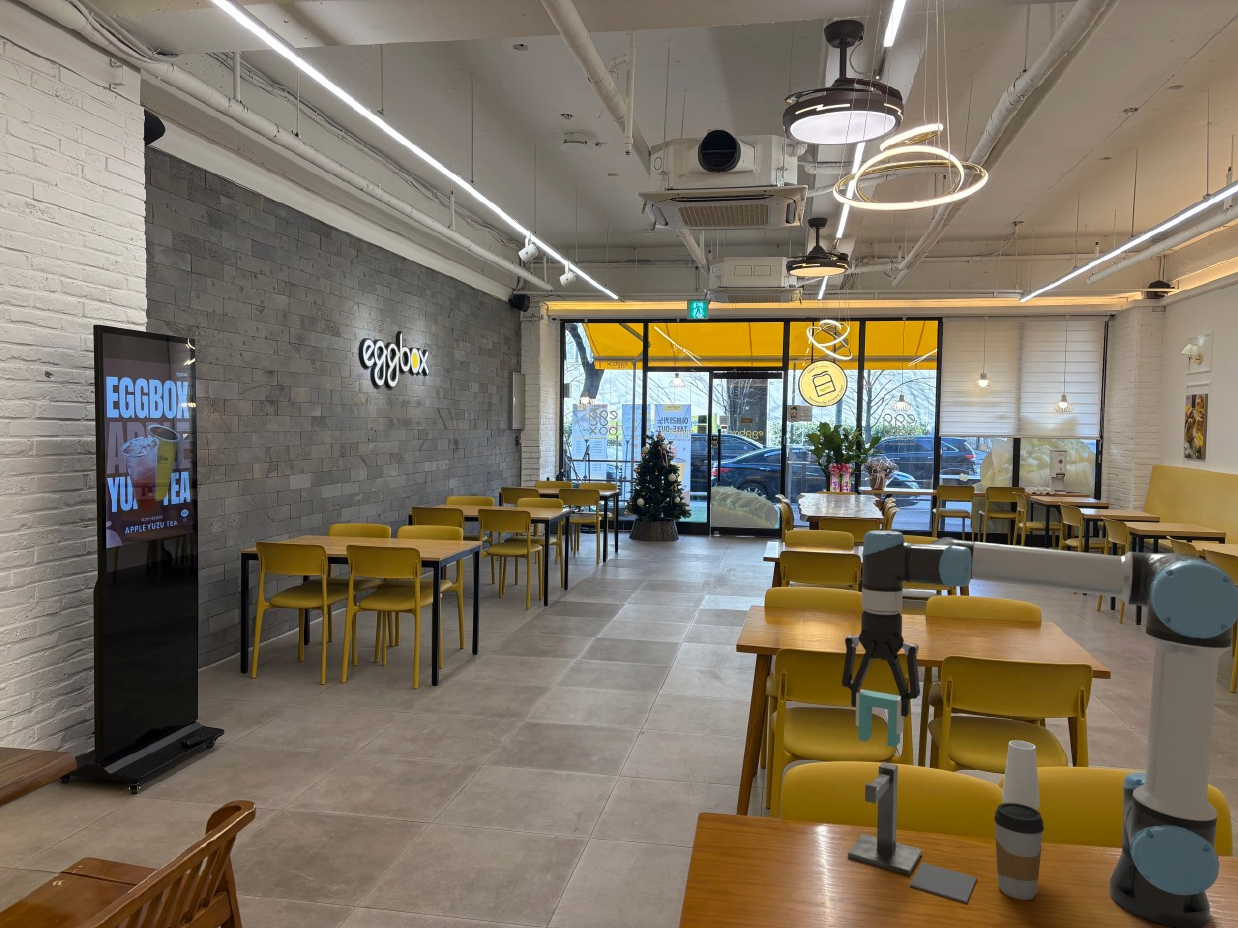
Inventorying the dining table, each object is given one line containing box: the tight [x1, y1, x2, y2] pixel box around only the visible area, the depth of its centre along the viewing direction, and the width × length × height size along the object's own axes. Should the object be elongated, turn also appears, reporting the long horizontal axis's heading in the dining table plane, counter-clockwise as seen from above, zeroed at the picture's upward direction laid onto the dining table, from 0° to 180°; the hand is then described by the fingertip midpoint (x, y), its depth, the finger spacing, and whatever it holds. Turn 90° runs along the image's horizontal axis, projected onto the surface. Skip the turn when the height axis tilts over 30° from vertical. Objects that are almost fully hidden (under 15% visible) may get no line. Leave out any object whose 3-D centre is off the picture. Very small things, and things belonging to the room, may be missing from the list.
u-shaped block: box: [858, 689, 901, 748], centre depth 157 cm, size 7×4×9 cm, turn 57°
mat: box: [909, 862, 978, 904], centre depth 153 cm, size 10×10×1 cm
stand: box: [847, 761, 923, 876], centre depth 160 cm, size 12×16×18 cm
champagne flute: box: [1001, 740, 1041, 811], centre depth 160 cm, size 7×7×24 cm
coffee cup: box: [993, 802, 1045, 901], centre depth 150 cm, size 8×8×15 cm
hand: (879, 727), depth 157 cm, fingers closed on u-shaped block, 7 cm apart
